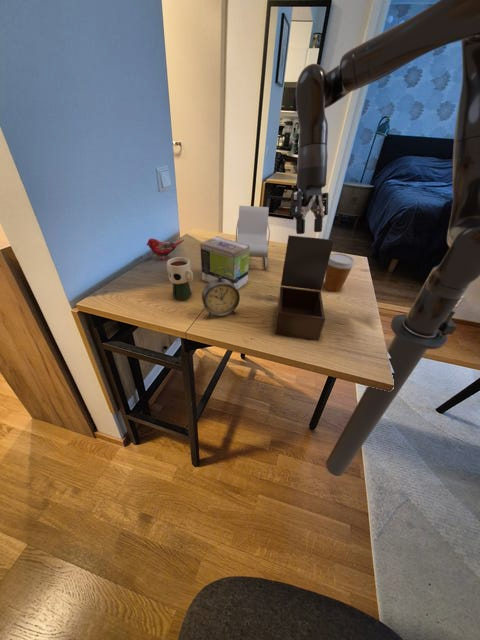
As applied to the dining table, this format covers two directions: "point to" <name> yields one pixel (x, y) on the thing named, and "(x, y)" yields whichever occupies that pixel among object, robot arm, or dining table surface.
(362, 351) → the dining table surface
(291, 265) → the lid
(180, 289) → the character mug
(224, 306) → the alarm clock
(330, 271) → the disposable coffee cup
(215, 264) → the tea box
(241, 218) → the chair
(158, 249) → the decorative bird figurine
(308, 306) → the dark brown box
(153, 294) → the dining table surface
